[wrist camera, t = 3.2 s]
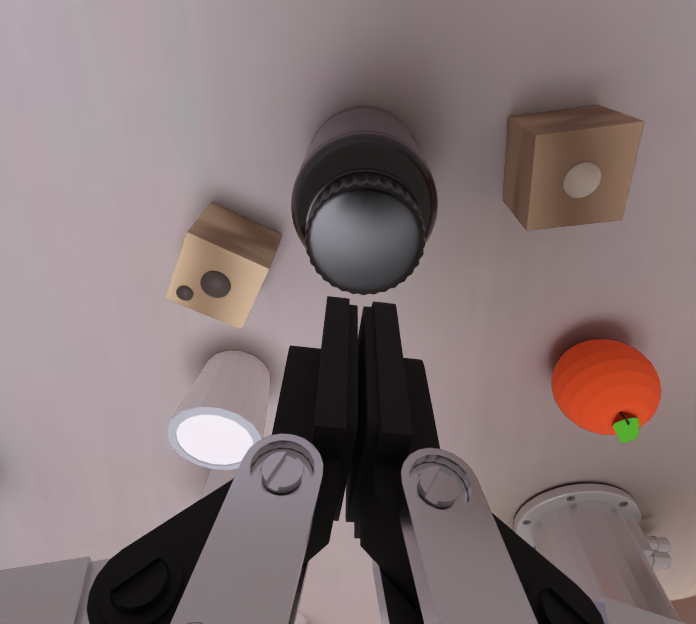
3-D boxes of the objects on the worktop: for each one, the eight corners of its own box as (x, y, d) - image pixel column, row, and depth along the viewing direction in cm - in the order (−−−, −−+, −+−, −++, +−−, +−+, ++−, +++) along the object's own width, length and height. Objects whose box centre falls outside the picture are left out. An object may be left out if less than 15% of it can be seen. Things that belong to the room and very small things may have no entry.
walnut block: (597, 104, 25) (645, 121, 21) (582, 190, 28) (623, 221, 23) (507, 116, 25) (536, 136, 21) (502, 199, 28) (527, 231, 24)
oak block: (282, 234, 30) (269, 270, 26) (256, 289, 32) (240, 330, 28) (212, 201, 29) (186, 233, 24) (191, 261, 31) (164, 299, 27)
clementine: (636, 380, 36) (690, 450, 30) (551, 405, 38) (586, 476, 32) (623, 307, 32) (681, 372, 26) (529, 339, 34) (564, 406, 28)
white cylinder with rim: (244, 331, 34) (220, 394, 29) (293, 387, 38) (281, 454, 32) (180, 364, 37) (145, 428, 31) (231, 414, 40) (209, 481, 34)
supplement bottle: (421, 209, 28) (452, 310, 19) (318, 222, 29) (296, 326, 19) (415, 94, 25) (451, 143, 15) (298, 112, 25) (256, 170, 15)
